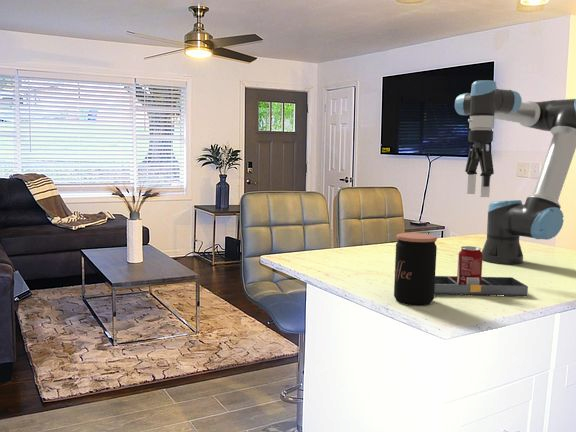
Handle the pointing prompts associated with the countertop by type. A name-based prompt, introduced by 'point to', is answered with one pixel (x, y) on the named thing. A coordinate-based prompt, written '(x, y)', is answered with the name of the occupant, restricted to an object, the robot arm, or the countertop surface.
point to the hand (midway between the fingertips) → (477, 195)
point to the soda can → (469, 266)
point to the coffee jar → (415, 269)
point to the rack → (480, 287)
